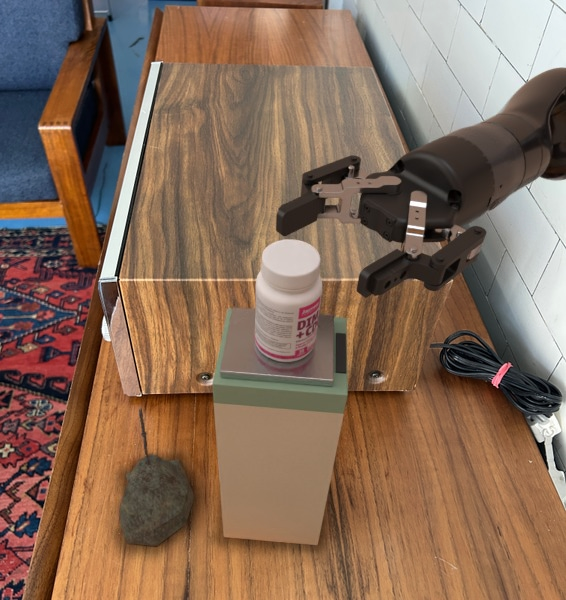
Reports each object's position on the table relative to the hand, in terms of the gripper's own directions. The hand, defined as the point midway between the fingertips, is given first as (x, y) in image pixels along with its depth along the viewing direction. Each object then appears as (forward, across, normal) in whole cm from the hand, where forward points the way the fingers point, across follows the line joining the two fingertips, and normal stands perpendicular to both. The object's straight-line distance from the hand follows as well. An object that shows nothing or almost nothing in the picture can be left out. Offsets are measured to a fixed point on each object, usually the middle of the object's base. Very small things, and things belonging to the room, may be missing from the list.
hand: (318, 253), depth 40 cm
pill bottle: (+3, 0, +8) cm, 8 cm away
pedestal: (+3, 0, +35) cm, 35 cm away
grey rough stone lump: (+12, -8, +35) cm, 38 cm away
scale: (+3, 0, +11) cm, 11 cm away
